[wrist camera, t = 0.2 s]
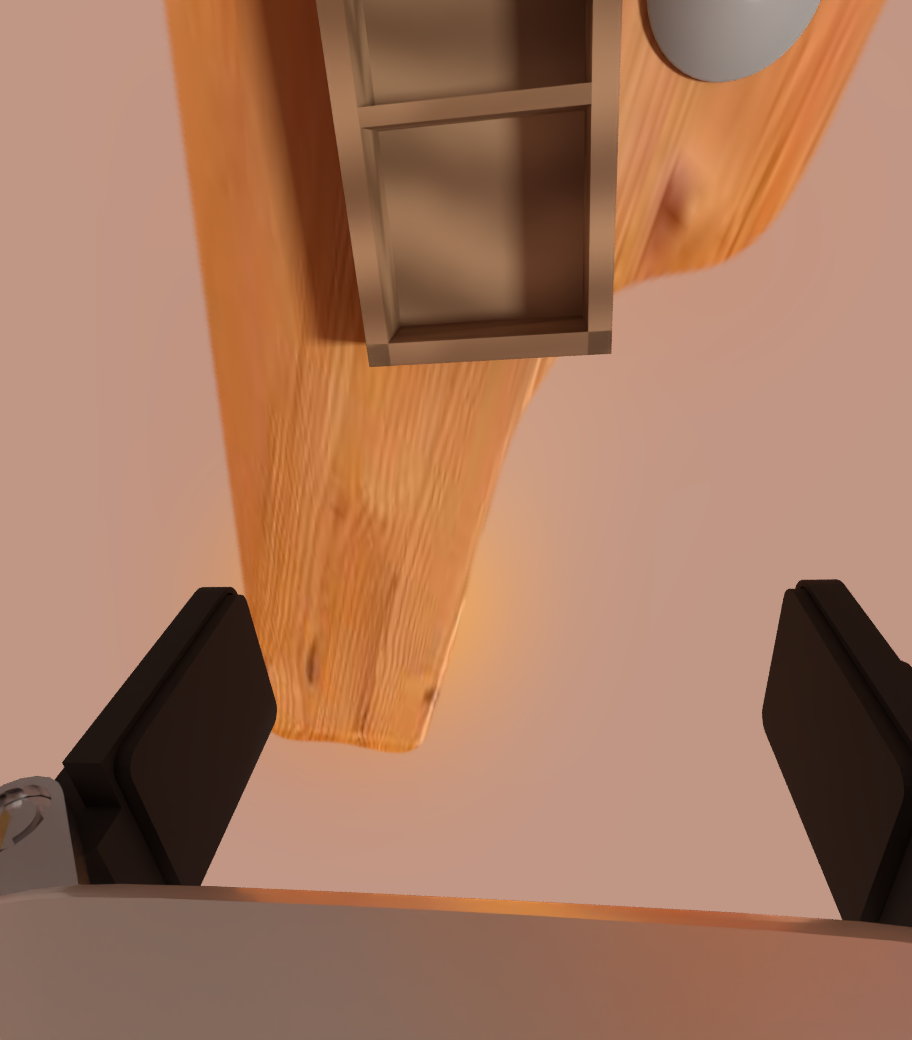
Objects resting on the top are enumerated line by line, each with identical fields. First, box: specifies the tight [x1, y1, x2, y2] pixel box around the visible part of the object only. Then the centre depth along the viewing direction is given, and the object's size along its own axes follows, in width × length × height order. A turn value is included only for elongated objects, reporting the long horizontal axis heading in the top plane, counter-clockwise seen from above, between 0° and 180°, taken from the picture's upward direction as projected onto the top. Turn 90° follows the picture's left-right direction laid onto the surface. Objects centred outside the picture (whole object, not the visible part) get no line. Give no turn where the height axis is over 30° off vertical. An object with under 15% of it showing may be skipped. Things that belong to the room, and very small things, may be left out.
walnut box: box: [316, 0, 622, 367], centre depth 33 cm, size 18×13×5 cm
